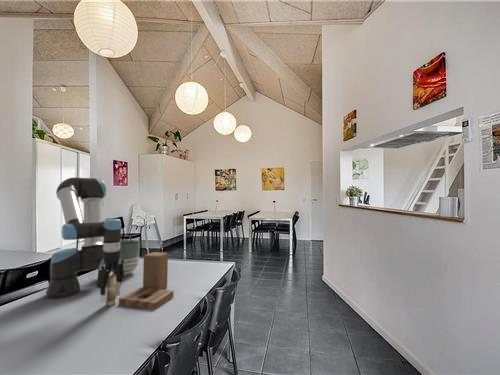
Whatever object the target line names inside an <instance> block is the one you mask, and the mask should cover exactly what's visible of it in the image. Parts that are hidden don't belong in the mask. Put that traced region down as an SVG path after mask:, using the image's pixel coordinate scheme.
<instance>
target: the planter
mask: <svg viewBox="0 0 500 375" xmlns="http://www.w3.org/2000/svg"><path fill="white" fill-rule="evenodd" d="M140 248H141V241H140V240H133V239H131V240H130V239H128V240H127V239H126V240H121V242H120V258H119V260H124V263H123V269H124V276H127V275H130V274H131V273H133V272H134V271H135V270H136V268H137V266H138V265H139V259H140ZM111 274H114V273H113V270H112V271H111Z"/></svg>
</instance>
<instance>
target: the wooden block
mask: <svg viewBox="0 0 500 375" xmlns="http://www.w3.org/2000/svg"><path fill="white" fill-rule="evenodd" d="M168 256H169V253H168V252H160V251H159V252H158V251H153V252H150V253H148V254H145V255H143V273H142V275H143V277H142V287H143V288H152V289H161V290H165V289H166V288H167V287H168V271H169V270H168V268H169V266H168V262H169V261H168V259H169V257H168Z"/></svg>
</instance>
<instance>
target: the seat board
mask: <svg viewBox="0 0 500 375" xmlns="http://www.w3.org/2000/svg"><path fill="white" fill-rule="evenodd" d="M172 298H174V290H168V289H163V290H161V289H152V288H143V286H141V287H139V288H137V289H135V290H133V291H131V292H129V293H127V294H125V295H123V296H121V297H119V298H118V305H120V306H125V305H126V306H127V307H132V306H134V307H133V308H139V307H141V309H146V310H147V309H148V310H156V309H158V308H159V307H160V306H162V305H163V304H165V303H166V302H168V301H169V300H171V299H172ZM167 300H168V301H167ZM164 302H165V303H164ZM161 304H162V305H161ZM126 306H125V307H126Z"/></svg>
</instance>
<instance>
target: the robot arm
mask: <svg viewBox="0 0 500 375" xmlns="http://www.w3.org/2000/svg"><path fill="white" fill-rule="evenodd" d="M55 192H56V197H57V199H58V200H59V201H60V206H61V209H62V214H63V217H64V218H63V219H64V222H65V224H63V225H62V227H61V237H62V239H63V240H65V241H69V240H70V241H71V240H72V241H74V240H82V239H83V241H84V242H83V244H82V246H80V247H81V248H80V249H78V247H70V248H64V249H60V250H57V251H55V252H54V253H52V255H51V258H50V281H49V283H48V286H47V288H46V291H45V298H47V299H61V298H62V299H63V298H68V297H70V296H74V295H76V294H78V293H80V292H81V285H80V282H79V279H78V273H79V272H82V271H91V270H95V269H98V272H97V281H96V288H99V290H100V291H99V293H100V302H102V303H103V302H104V303H106V302H107V287H106V285H107V281H108V278H109V275H110V274H116V297H117V296H118V297H119V296H121V295H120V292H121V290H120V289H121V284H122V282H123V280H124V278H125V275H124V269H123V263H124V260H119V258H120V242H121V241H122V240H121V239H122V220H121V219H119V218H106V219H104V221H102V220H101V219H102V218H101V216H102V215H101V202H102V201H103V200H104V198H105V197H106V195H107V187H106V183H105V181H104V180H103V179H102V178H94V177H93V178H92V177H91V178H90V177H76V176H75V177H69V178H66V179H64V180H63V181H62V182H61V183H60V184H58V187H57V188H56V190H55ZM78 198H80V202H82V204H83V214H82V210H81V208H80V203H79V200H78ZM102 237H103V240H102ZM112 270H113V273H112V272H111V271H112Z"/></svg>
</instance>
